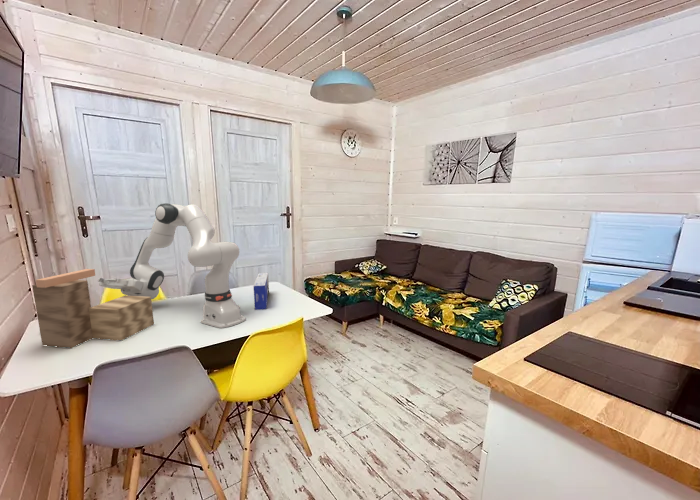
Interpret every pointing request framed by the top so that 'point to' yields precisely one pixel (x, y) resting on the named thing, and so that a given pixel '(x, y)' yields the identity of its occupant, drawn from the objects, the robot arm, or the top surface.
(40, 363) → the top surface
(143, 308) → the brown wooden stepped block
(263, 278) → the ink box
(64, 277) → the long slim case
